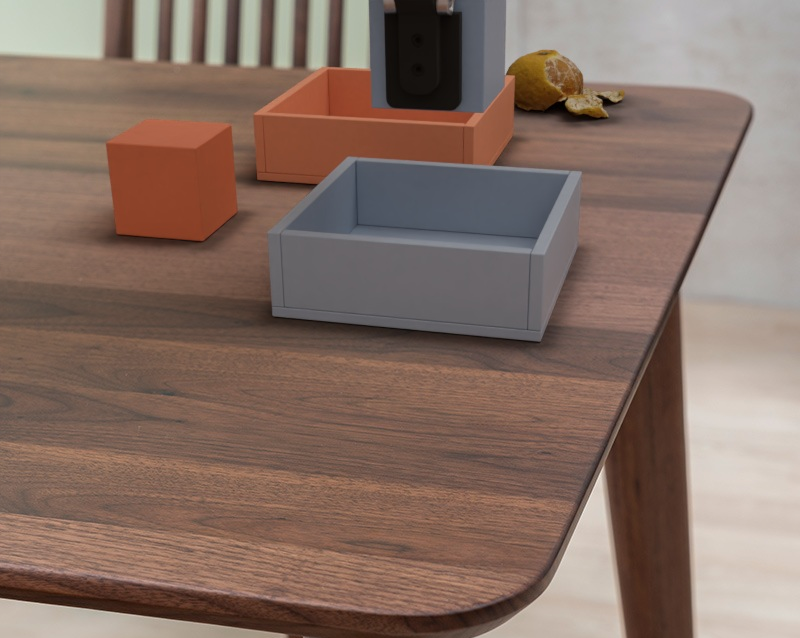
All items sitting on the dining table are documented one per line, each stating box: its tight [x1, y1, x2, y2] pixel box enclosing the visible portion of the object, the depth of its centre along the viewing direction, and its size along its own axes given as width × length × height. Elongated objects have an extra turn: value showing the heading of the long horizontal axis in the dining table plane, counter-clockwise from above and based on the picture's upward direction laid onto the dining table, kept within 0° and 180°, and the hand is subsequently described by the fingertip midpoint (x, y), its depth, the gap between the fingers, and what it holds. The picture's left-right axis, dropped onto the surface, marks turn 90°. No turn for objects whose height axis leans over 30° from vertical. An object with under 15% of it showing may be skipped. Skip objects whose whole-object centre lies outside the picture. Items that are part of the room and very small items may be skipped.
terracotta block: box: [105, 118, 239, 242], centre depth 67 cm, size 5×5×5 cm
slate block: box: [368, 0, 507, 113], centre depth 55 cm, size 5×5×5 cm
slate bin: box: [266, 157, 583, 343], centre depth 60 cm, size 12×12×4 cm
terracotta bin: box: [252, 66, 515, 185], centre depth 79 cm, size 13×13×4 cm
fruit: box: [505, 49, 626, 119], centre depth 90 cm, size 8×8×4 cm
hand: (439, 88), depth 56 cm, fingers closed on slate block, 5 cm apart
